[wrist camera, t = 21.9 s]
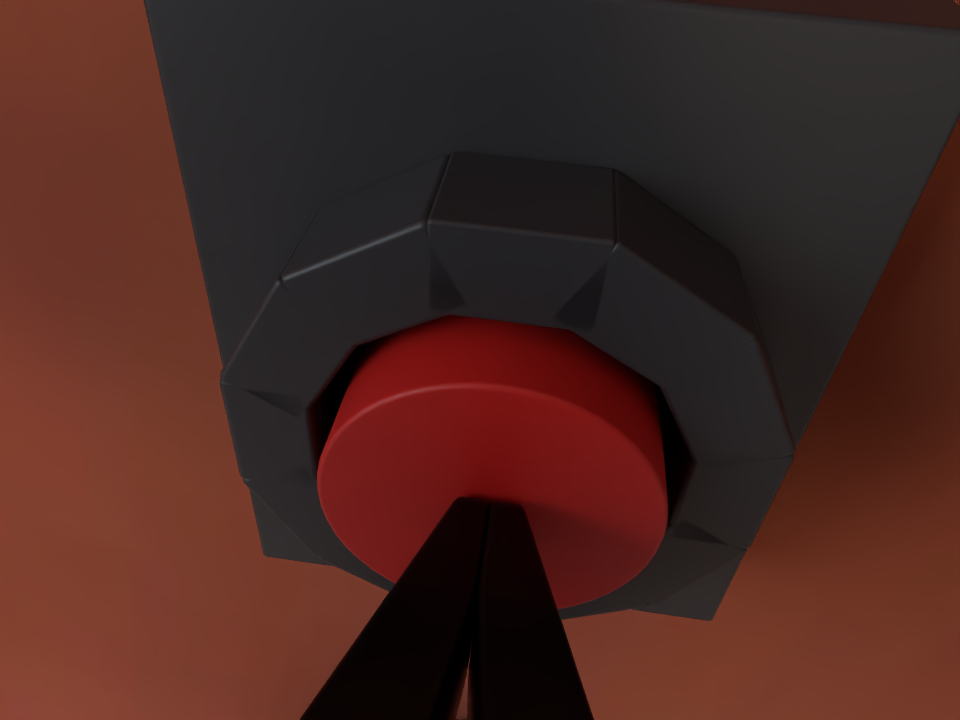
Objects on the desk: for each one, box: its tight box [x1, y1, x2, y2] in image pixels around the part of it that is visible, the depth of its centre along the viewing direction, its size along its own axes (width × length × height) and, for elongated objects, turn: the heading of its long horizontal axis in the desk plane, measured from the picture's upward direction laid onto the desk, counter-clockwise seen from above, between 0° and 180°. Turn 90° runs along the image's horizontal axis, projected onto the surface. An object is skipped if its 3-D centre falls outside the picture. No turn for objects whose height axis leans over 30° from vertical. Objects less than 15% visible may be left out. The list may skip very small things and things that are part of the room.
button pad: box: [144, 0, 960, 621], centre depth 11 cm, size 11×9×4 cm
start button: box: [317, 315, 668, 609], centre depth 10 cm, size 4×4×2 cm
